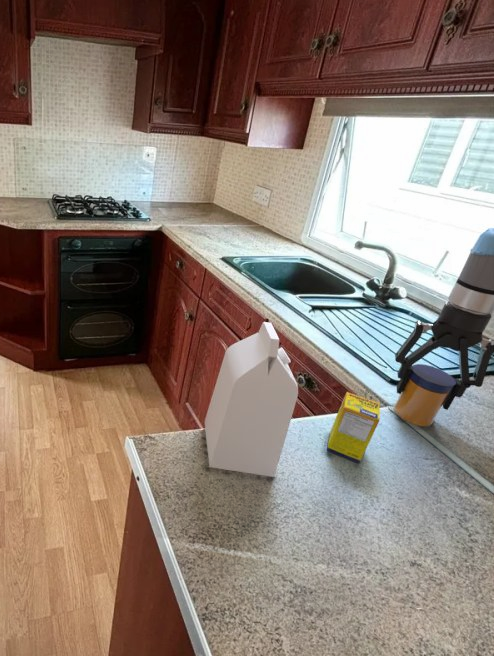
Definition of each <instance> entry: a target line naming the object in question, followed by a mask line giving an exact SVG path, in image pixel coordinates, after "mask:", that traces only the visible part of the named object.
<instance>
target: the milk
mask: <svg viewBox="0 0 494 656" xmlns="http://www.w3.org/2000/svg"><path fill="white" fill-rule="evenodd" d="M290 363H292V362H291V358H290V357H289V355H288V354H287V352H286V351H285V349H284V348H283V347H280V338H279V336H278V334H277V331H276V330H275V328H274V326H273V324H272V322H268V321H262V323H261V326H260V328H259V330H258V332H256V333H254V334H252V335H249V336H248V337H244V338H243V339H241V340H239V341H237V342H235V343H233V344H231V345H230V346H229V347H227V349H226V350H225V352H224V356H223V359H222V363H221V365H220V368H219V372H218V374H217V375H218V376H217V378H216V382H215V386H214V388H213V392H212V395H211V399H210V402H209V405H208V409H207V412H206V415H205V418H204V430H205V440H206V449H207V456H208V463H209V464H208V465H209V468H211V469H218V470H219V469H220V470H227V471H233V472H239V473H244V474H245V473H246V474H250V475H251V474H252V475H258V476H264V477H272V478H275V475H276V472H277V469H278V465H279V461H280V459H281V454H282V452H283V448H284V445H285V441H286V438H287V435H288V431H289V427H290V424H291V420H292V417H293V414H294V411H295V407H296V404H297V400H298V397H299V385H298V382H297V381H296V378H295V376H294V374H293V372H292V369H291V368H290V366H289V364H290Z"/></svg>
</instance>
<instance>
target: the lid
mask: <svg viewBox="0 0 494 656" xmlns="http://www.w3.org/2000/svg"><path fill="white" fill-rule="evenodd" d="M412 370H413V371H412V373H411V375H410V379H411V380H412V381H414V382H415V383H416V384H418V385H420V386H422V387H424V388H426V389H428V390H431V391H434V392H438V393H450V392H452V390H453V388H454V387H455V385H456V381H455V378H454V377H453V376H452V375H451V374H449V373H447V372H446V371H444V370H442V369H441V368H438V367H434V366H432V365H427V364H423V363H421V364H420V363H418V364H417V363H415V364H413V365H412Z"/></svg>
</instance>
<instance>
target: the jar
mask: <svg viewBox="0 0 494 656" xmlns="http://www.w3.org/2000/svg"><path fill="white" fill-rule="evenodd" d="M448 394H449V393H438V392H434V391H431V390H428V389H426V388H424V387H422V386H420V385H418V384H416V383H415V382H414V381H412V380H411V379H410V377H409V379H408V381H407V383H406V385H405V387H404V389H403V391H402V393H401V394H399V395H398V397H397V399H396V401H395V402H394V405H393V412H394V413H395V414H396V415H397V416H398V417H399V418H400V419H402V420H404V421H405V422H408V423H410V424H413V425H415V426H419V427H430V426H432V425H433V423H434V421H435V419H436V417H437V416H438V414H439V413H440V411H441V409H442V408H443V403H444V401H445V400H446V398H447V396H448Z"/></svg>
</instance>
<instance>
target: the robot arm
mask: <svg viewBox="0 0 494 656" xmlns="http://www.w3.org/2000/svg"><path fill="white" fill-rule="evenodd" d="M493 313H494V227H490V228H486V229H484V230H483V231H482V232H481V233H480V234H479V236H478V238H476V241H475V243H474V245H473V246H472V248H470V252H469V254H468V257H467V259H466V260H465V263H464V265H463V267H462V269H461V271H460V274H459V276H458V277H457V280H456V282H455V283H454V284H453V287H452V289H451V291H450V293H449V295H448V297H447V301H446V302H445V303H444V305H443V307H442V309H441V311H440V312H439V315H438V317H437V319H436V320H435V321H434V322H432V323H427V322H423V321H422V320H416V321H415V324H414V328H413V331H411V333H410V334H409V335H408V336H407V338H406V340H405V341H404V342H403V344H402V345H400V347H399V349H398V350H397V351H396V352H395V354H394V359H395V362H396V363H399V364H400V366H399V369H398V371H397V378H398V379H399V381H398V383H397V385H396V394H399V395H400V394H401V393H402V391H403V389H404V387H405V385H406V383H407V381H408V379H409V377H410V375H411V373H412V371H413V370H412V366H413V365H415V364H417V362H419V361H420V360H422V359H423V358H425V356H427V355H428V354H430V353H431V352H432V351H434V350H437V349H438V348H439V347H441V348H444V349H450V350H453V351H455V352H458V360H459V374H460V379H459V378H456V377H455V378H454V379H455V381H456V385H455V387H454V388H453V390H452V392H450V393H449V394H448V396H447V398H446V400H445V401H444V403H443V405H442V409H443V410H446V411H449V408H450V407H451V405H452V404H453V402H454V400H455V398H459V399H460V398H461V397H463V396H464V393H465V392H466V390H467V389H469V388H471V386H472V387H473V386H474V387H477V388H480V387H482V386H483V384H484V380H485V378H486V374H487V371H488V368H489V363H490V360H491V357H492V355H493V354H494V339H487V338H484V337H483V333H484V331H485V329H486V328H487V326H488V325H489V322H490V321H491V319H492V314H493ZM428 331H431V332H432V336H431V337H429V338H428V340H427V341H426V342H424V343H423V344H422V345H420V346H419V347H418V348H416V349H415V350H413V351H412V352H411V350H412V349H413V347H414V346H415V345H416V344H417V343H418V341H419V340H420V339H421V337H422V336H423V335H422V334H424V335H425V334H426V333H427V332H428ZM478 344H479V347H480V351H479V354H478V357H477V361H476V364H475V367H474V371H473V375H472V376H470V366H469V365H470V364H469V348H471V347H474V346H476V345H478ZM410 352H411V353H410ZM409 353H410V354H409Z"/></svg>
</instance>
